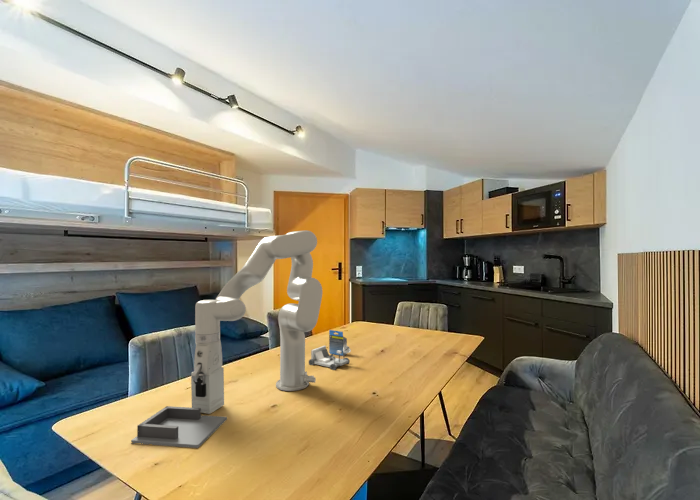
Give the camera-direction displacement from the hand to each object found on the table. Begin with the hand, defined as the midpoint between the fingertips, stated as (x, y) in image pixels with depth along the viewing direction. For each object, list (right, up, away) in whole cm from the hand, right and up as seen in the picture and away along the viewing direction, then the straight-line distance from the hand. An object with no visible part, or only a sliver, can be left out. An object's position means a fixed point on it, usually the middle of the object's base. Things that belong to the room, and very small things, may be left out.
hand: (208, 390), depth 114 cm
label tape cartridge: (+41, -8, +64) cm, 76 cm away
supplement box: (0, -6, 0) cm, 6 cm away
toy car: (+38, -8, +47) cm, 61 cm away
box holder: (-2, -6, -14) cm, 15 cm away
